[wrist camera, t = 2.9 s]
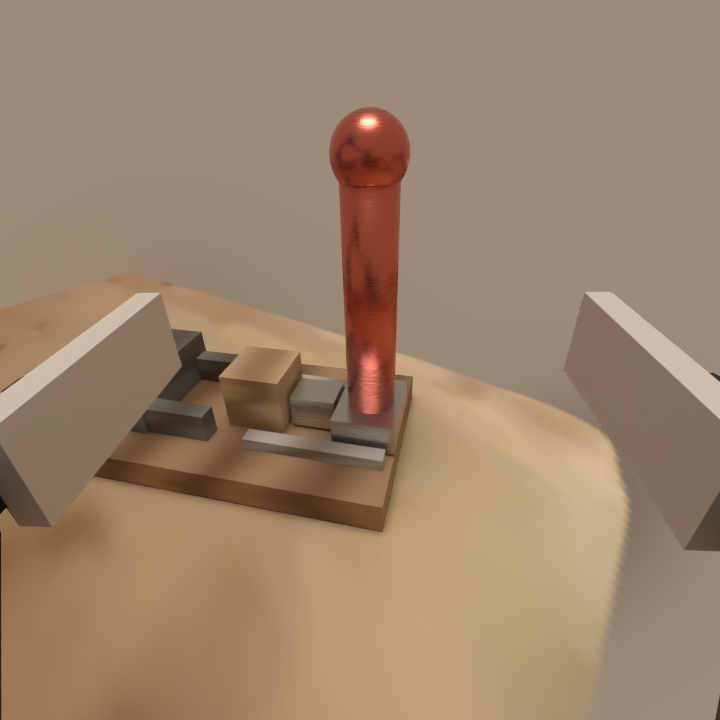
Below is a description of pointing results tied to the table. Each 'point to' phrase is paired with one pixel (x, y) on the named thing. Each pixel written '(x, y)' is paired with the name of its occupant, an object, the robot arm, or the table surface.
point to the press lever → (365, 286)
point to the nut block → (261, 388)
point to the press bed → (251, 450)
